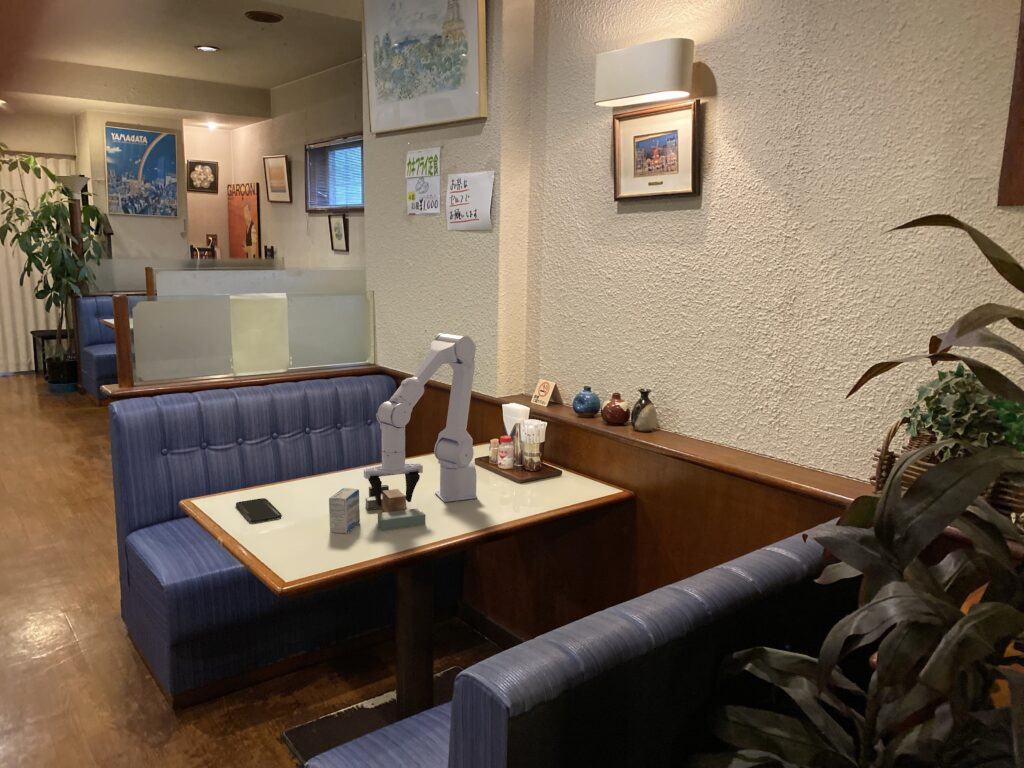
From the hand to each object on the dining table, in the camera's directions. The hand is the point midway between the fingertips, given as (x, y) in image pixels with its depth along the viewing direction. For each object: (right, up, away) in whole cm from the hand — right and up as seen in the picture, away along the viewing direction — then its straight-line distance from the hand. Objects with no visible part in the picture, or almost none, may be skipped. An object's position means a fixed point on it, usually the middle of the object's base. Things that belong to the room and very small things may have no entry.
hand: (393, 502), depth 192 cm
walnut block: (0, -3, +1) cm, 4 cm away
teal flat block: (+2, -4, -5) cm, 7 cm away
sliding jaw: (-4, -1, +10) cm, 11 cm away
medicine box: (-10, -5, -8) cm, 14 cm away
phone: (-34, -3, +1) cm, 34 cm away
